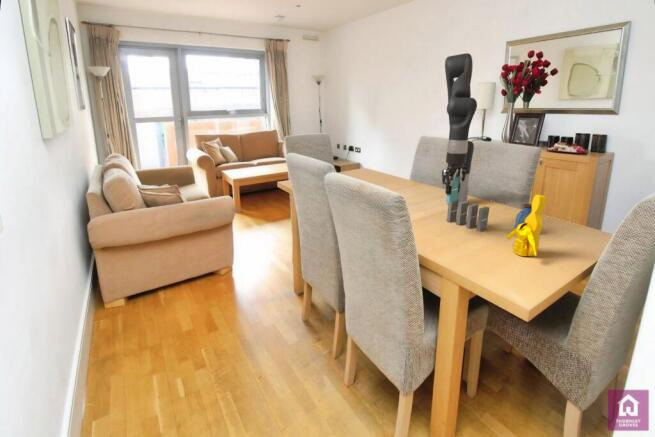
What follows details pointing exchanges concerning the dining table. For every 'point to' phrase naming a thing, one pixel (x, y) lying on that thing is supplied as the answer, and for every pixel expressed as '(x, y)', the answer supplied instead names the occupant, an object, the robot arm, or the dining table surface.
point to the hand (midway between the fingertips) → (452, 193)
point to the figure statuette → (529, 230)
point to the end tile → (453, 191)
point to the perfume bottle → (523, 214)
